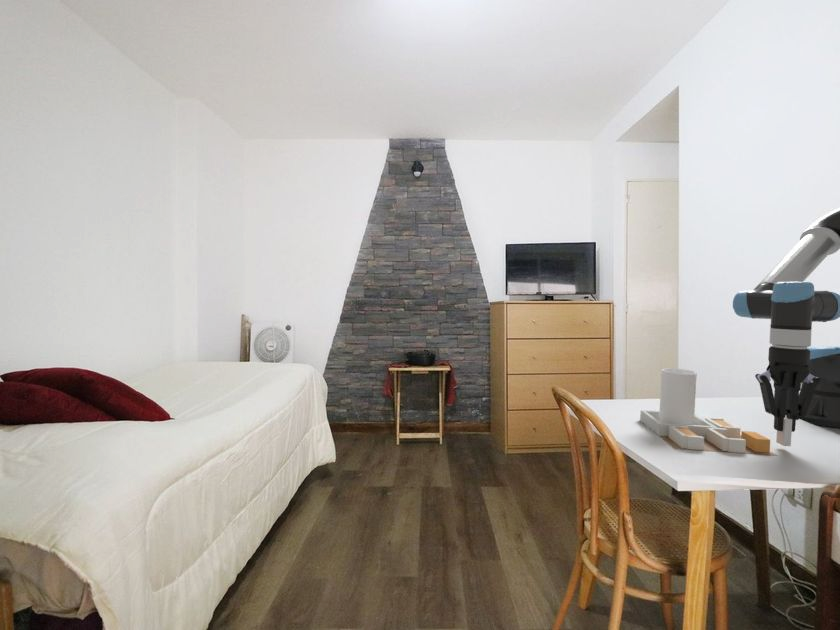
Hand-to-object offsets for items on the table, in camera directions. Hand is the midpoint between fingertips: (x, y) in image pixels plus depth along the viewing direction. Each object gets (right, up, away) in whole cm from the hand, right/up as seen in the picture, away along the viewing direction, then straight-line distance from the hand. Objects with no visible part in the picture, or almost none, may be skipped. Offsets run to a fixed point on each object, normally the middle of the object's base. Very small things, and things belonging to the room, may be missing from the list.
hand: (783, 444), depth 105 cm
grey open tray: (-12, -1, +2) cm, 12 cm away
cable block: (-6, -1, +1) cm, 6 cm away
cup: (-17, 0, +15) cm, 23 cm away
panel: (-14, -2, +9) cm, 17 cm away
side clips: (-14, -1, +7) cm, 16 cm away
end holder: (-17, 0, +15) cm, 23 cm away
